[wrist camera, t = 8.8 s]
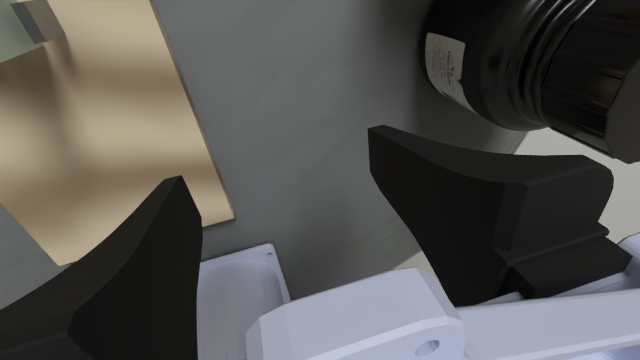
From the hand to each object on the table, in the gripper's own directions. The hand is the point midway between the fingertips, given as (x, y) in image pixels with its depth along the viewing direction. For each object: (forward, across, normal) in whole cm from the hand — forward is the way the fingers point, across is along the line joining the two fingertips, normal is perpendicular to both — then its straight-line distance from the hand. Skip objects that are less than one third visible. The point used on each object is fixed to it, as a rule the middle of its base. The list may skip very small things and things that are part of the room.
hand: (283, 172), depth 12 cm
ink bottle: (+10, -15, -1) cm, 18 cm away
